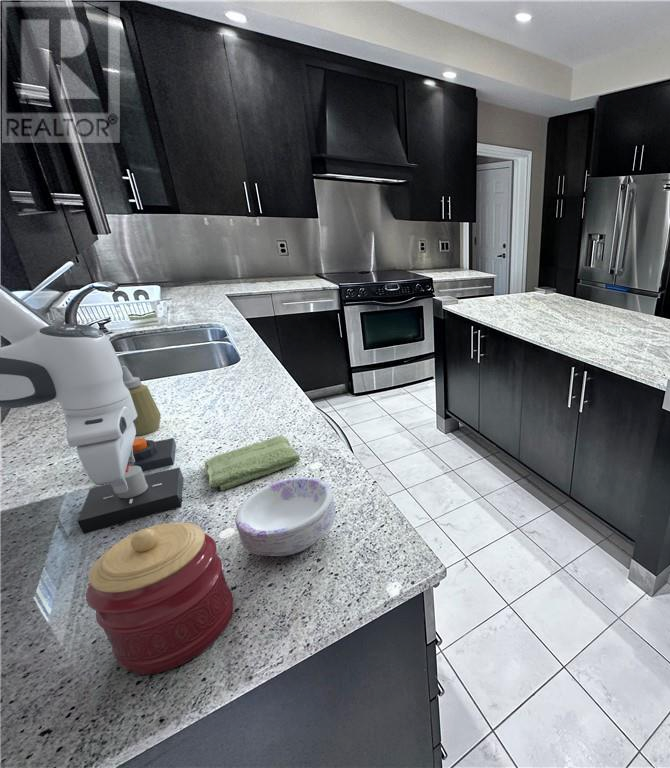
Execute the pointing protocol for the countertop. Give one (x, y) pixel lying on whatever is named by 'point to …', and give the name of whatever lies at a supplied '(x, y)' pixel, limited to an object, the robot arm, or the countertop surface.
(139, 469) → the timer dial
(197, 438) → the countertop surface
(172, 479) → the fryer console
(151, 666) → the kitchen canister
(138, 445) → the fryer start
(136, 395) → the squeeze bottle
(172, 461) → the button block
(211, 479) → the washcloth
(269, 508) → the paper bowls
